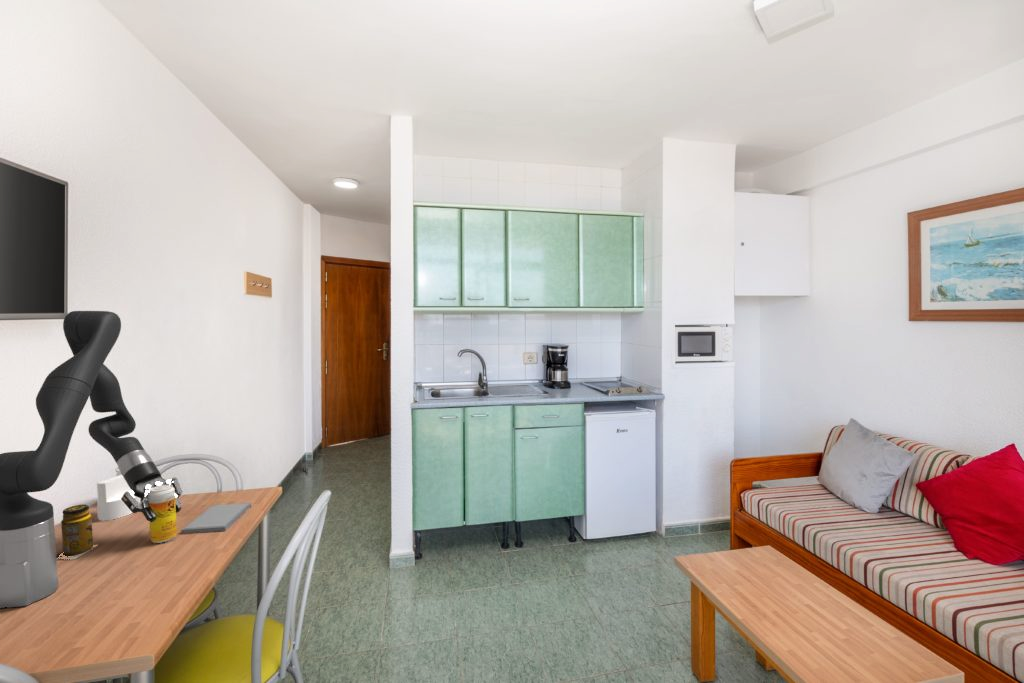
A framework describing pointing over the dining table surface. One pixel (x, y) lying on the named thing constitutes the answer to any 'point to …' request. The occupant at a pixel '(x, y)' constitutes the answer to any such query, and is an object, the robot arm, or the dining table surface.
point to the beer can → (163, 513)
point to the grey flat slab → (216, 518)
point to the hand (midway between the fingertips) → (166, 515)
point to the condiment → (76, 531)
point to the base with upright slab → (112, 498)
